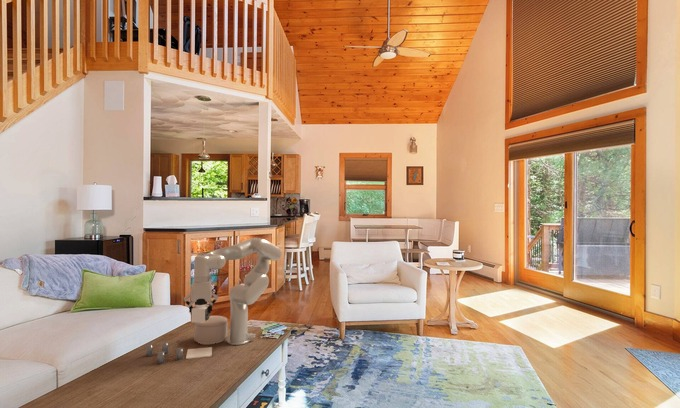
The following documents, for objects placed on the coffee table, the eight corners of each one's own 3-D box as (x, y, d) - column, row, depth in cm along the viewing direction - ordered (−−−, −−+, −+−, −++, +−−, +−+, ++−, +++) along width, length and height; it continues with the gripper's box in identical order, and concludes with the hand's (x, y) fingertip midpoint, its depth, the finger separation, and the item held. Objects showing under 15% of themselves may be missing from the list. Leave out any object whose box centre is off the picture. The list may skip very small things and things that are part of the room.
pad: (212, 348, 195) (212, 347, 195) (211, 356, 183) (211, 355, 183) (187, 350, 191) (188, 349, 191) (185, 359, 179) (185, 357, 179)
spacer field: (185, 350, 191) (185, 340, 191) (182, 361, 176) (182, 351, 176) (147, 353, 186) (147, 343, 186) (140, 366, 170) (140, 355, 171)
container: (199, 347, 195) (199, 325, 195) (190, 338, 209) (190, 318, 210) (231, 341, 206) (232, 320, 206) (221, 332, 220) (221, 313, 221)
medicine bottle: (205, 322, 184) (205, 299, 185) (191, 322, 184) (191, 299, 184) (209, 318, 191) (210, 295, 192) (196, 318, 191) (196, 295, 191)
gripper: (219, 277, 195) (218, 310, 194) (184, 278, 189) (183, 312, 189) (219, 280, 187) (218, 313, 187) (182, 281, 182) (181, 316, 181)
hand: (200, 313), depth 188 cm, fingers closed on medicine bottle, 8 cm apart
